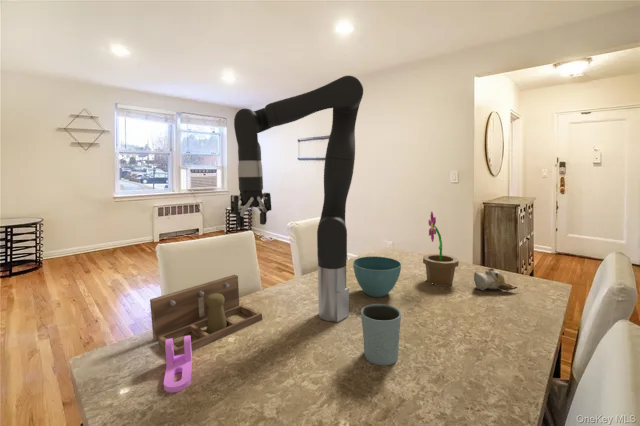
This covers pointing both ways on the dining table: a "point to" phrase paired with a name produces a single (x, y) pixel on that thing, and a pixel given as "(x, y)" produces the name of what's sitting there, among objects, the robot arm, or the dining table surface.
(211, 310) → the olive bulbous cylinder
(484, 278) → the ceramic sculpture
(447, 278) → the flowerpot
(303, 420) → the dining table surface
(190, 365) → the bracket
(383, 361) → the light blue cup
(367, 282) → the teal bowl
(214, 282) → the wooden peg rack
